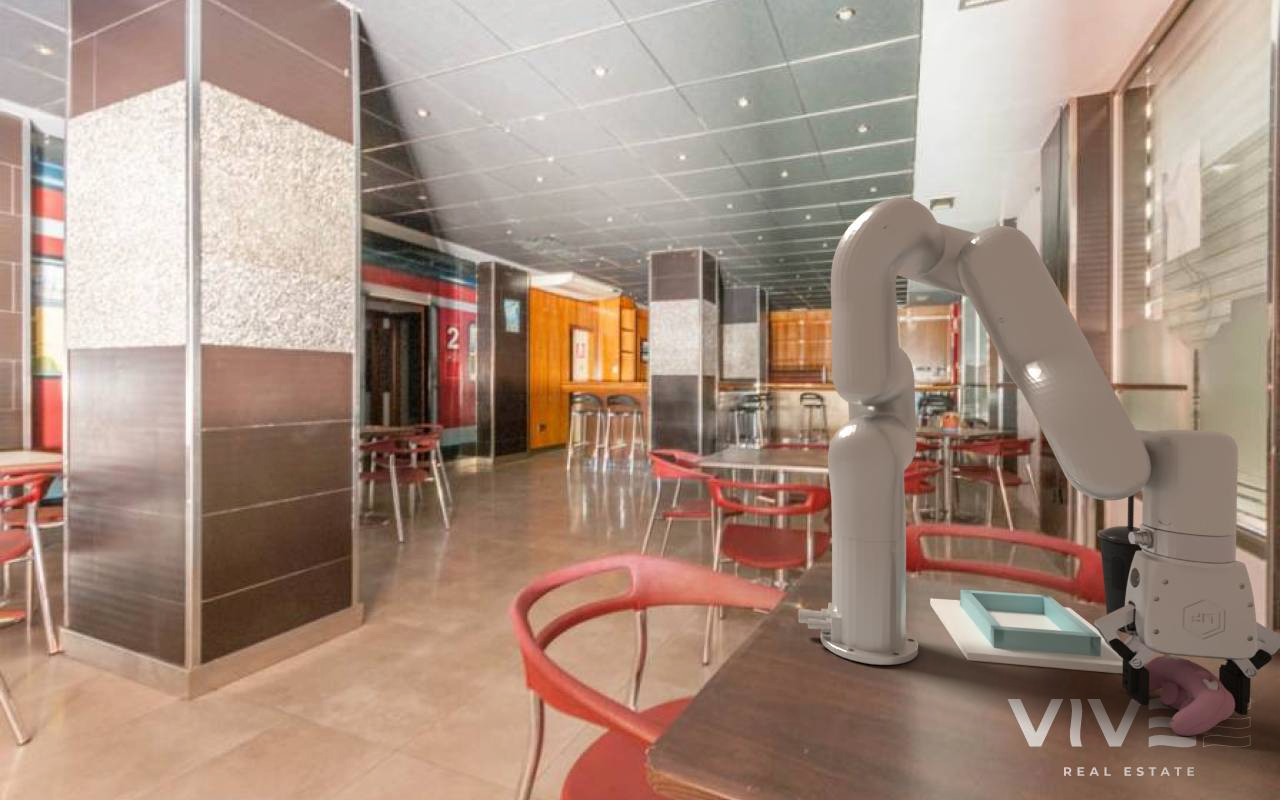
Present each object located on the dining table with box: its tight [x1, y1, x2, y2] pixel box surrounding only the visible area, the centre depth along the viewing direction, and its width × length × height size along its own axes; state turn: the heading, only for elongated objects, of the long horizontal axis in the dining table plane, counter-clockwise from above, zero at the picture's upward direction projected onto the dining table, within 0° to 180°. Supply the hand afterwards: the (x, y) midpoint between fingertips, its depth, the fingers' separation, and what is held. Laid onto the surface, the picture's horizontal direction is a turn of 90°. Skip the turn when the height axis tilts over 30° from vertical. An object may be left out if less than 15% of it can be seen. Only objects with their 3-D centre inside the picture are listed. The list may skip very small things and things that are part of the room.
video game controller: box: [1122, 654, 1235, 737], centre depth 66 cm, size 10×5×7 cm, turn 169°
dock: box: [930, 589, 1123, 675], centre depth 86 cm, size 20×20×4 cm
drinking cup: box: [1096, 494, 1142, 633], centre depth 88 cm, size 8×8×20 cm
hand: (1184, 702), depth 66 cm, fingers open, 8 cm apart
